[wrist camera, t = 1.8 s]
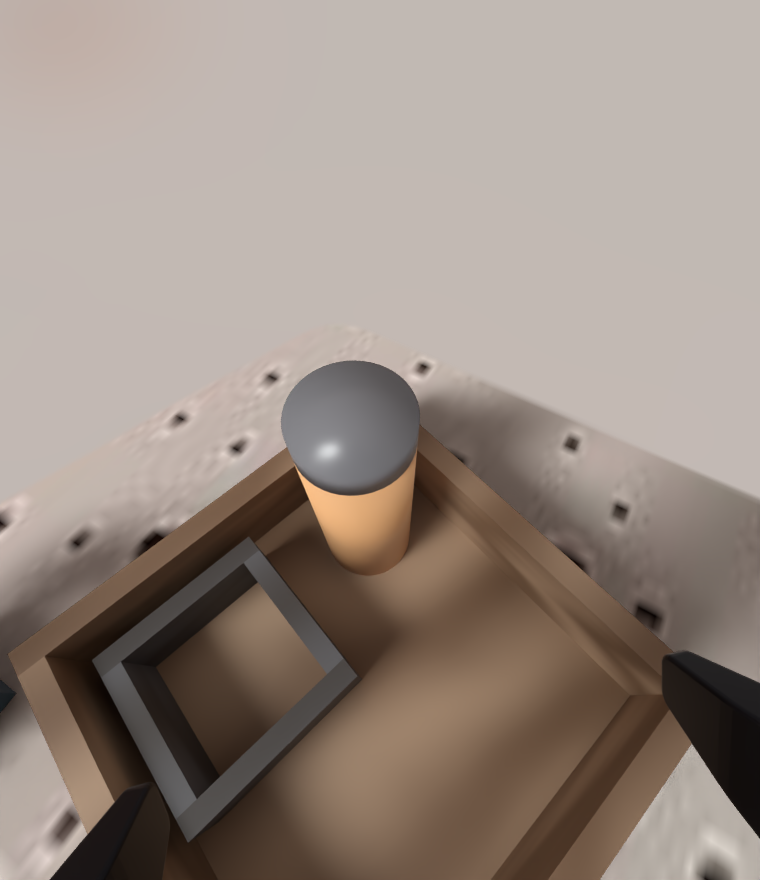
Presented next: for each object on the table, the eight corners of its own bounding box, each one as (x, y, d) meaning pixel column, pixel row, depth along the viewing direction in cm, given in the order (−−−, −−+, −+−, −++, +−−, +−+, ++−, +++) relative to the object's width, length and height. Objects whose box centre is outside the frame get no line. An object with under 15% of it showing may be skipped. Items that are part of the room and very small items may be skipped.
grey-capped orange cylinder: (426, 537, 23) (449, 418, 13) (364, 593, 22) (340, 507, 12) (372, 482, 24) (357, 340, 15) (311, 532, 23) (253, 412, 14)
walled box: (658, 697, 20) (723, 696, 16) (328, 1148, 14) (302, 1318, 10) (376, 430, 27) (373, 383, 23) (79, 663, 21) (7, 653, 17)
